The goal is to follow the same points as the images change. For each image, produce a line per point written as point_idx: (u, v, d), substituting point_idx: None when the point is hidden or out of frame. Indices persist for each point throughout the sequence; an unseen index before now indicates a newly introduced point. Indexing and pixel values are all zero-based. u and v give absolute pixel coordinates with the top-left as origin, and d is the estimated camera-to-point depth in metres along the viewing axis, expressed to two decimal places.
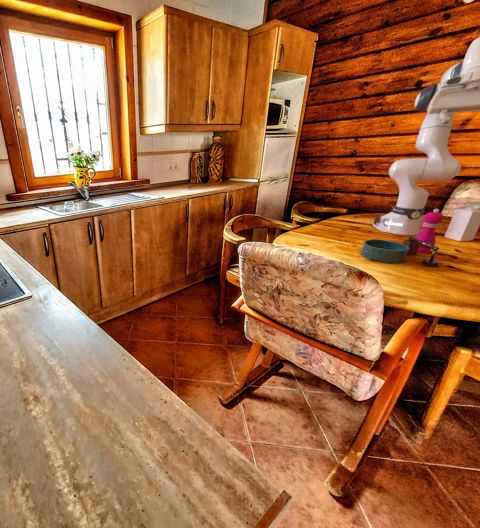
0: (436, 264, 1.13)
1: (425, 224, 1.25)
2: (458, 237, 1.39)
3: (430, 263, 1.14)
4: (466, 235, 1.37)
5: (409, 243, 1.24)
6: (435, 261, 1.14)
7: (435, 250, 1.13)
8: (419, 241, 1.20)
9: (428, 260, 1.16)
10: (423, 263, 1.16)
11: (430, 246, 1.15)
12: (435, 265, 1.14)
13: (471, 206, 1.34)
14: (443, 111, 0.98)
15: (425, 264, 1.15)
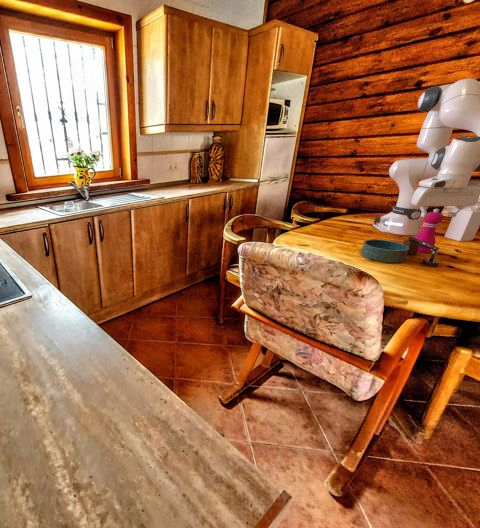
0: (436, 264, 1.13)
1: (425, 224, 1.25)
2: (458, 237, 1.39)
3: (430, 263, 1.14)
4: (466, 235, 1.37)
5: (409, 243, 1.24)
6: (435, 261, 1.14)
7: (435, 250, 1.13)
8: (419, 241, 1.20)
9: (428, 260, 1.16)
10: (423, 263, 1.16)
11: (430, 246, 1.15)
12: (435, 265, 1.14)
13: (471, 206, 1.34)
14: (425, 207, 1.12)
15: (425, 264, 1.15)
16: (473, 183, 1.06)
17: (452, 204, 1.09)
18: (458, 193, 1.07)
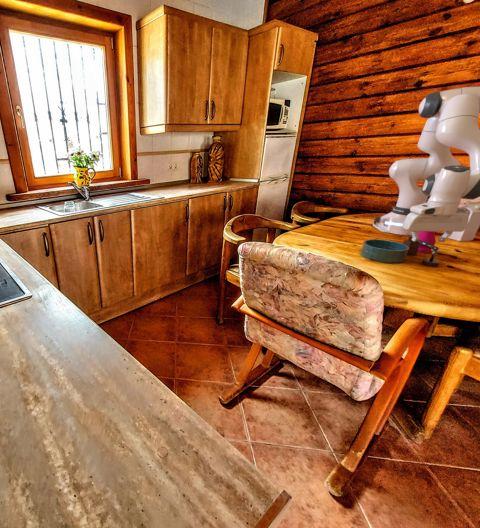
0: (436, 264, 1.13)
1: None
2: (458, 237, 1.39)
3: (430, 263, 1.14)
4: (466, 235, 1.37)
5: (409, 243, 1.24)
6: (435, 261, 1.14)
7: (435, 250, 1.13)
8: (419, 241, 1.20)
9: (428, 260, 1.16)
10: (423, 263, 1.16)
11: (430, 246, 1.15)
12: (435, 265, 1.14)
13: (471, 206, 1.34)
14: (416, 232, 1.16)
15: (425, 264, 1.15)
16: (462, 210, 1.10)
17: (442, 230, 1.13)
18: (447, 219, 1.11)
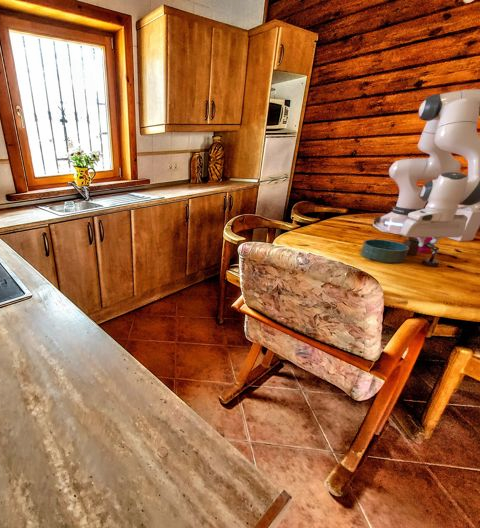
0: (436, 264, 1.13)
1: None
2: (458, 237, 1.39)
3: (430, 263, 1.14)
4: (466, 235, 1.37)
5: (409, 243, 1.24)
6: (435, 261, 1.14)
7: (435, 250, 1.13)
8: None
9: (428, 260, 1.16)
10: (423, 263, 1.16)
11: (430, 246, 1.15)
12: (435, 265, 1.14)
13: (471, 206, 1.34)
14: (423, 238, 1.16)
15: (425, 264, 1.15)
16: (459, 216, 1.11)
17: (439, 235, 1.14)
18: (445, 225, 1.12)
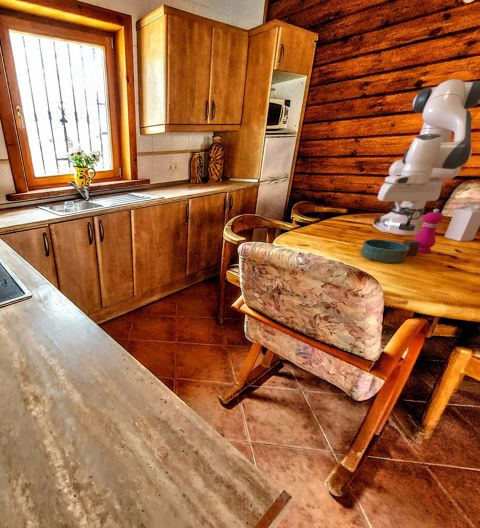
0: (412, 228, 1.13)
1: (425, 224, 1.25)
2: (458, 237, 1.39)
3: (406, 227, 1.14)
4: (466, 235, 1.37)
5: (409, 243, 1.24)
6: (411, 225, 1.14)
7: (411, 213, 1.13)
8: None
9: (405, 224, 1.15)
10: (400, 227, 1.16)
11: (407, 210, 1.15)
12: (411, 228, 1.13)
13: (471, 206, 1.34)
14: (399, 202, 1.16)
15: (402, 228, 1.15)
16: (434, 179, 1.11)
17: (415, 199, 1.14)
18: (420, 189, 1.12)
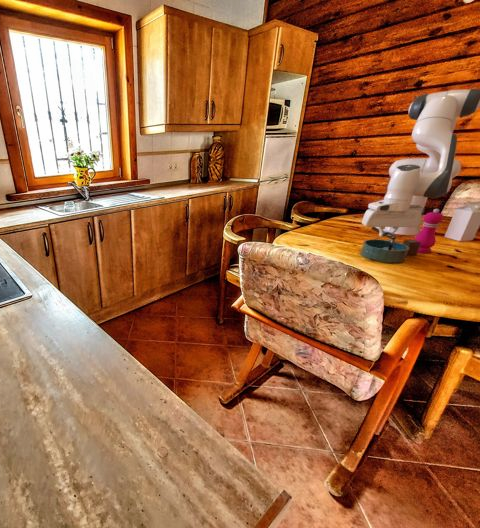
0: None
1: (425, 224, 1.25)
2: (458, 237, 1.39)
3: None
4: (466, 235, 1.37)
5: (409, 243, 1.24)
6: (393, 249, 1.20)
7: (393, 239, 1.19)
8: None
9: (387, 249, 1.21)
10: None
11: (389, 235, 1.21)
12: None
13: (471, 206, 1.34)
14: (382, 228, 1.22)
15: None
16: (415, 207, 1.17)
17: (397, 225, 1.20)
18: (402, 215, 1.18)
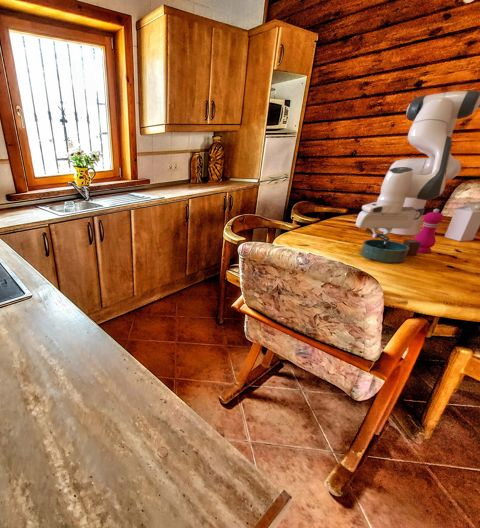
0: None
1: (425, 224, 1.25)
2: (458, 237, 1.39)
3: None
4: (466, 235, 1.37)
5: (409, 243, 1.24)
6: None
7: (386, 240, 1.20)
8: None
9: None
10: None
11: (382, 237, 1.22)
12: None
13: (471, 206, 1.34)
14: (375, 229, 1.23)
15: None
16: (407, 208, 1.18)
17: (390, 227, 1.21)
18: (395, 217, 1.20)
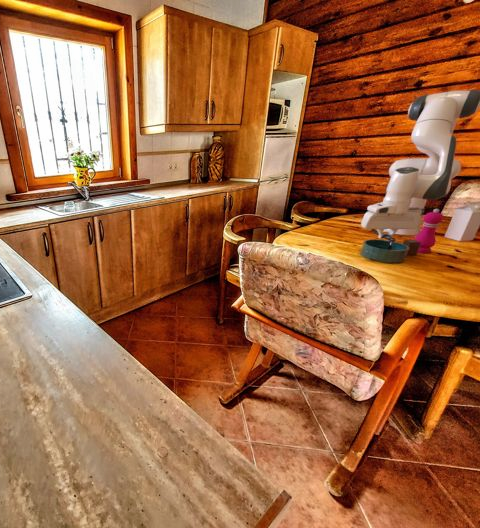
0: None
1: (425, 224, 1.25)
2: (458, 237, 1.39)
3: None
4: (466, 235, 1.37)
5: (409, 243, 1.24)
6: None
7: (392, 241, 1.19)
8: None
9: None
10: None
11: (388, 237, 1.21)
12: None
13: (471, 206, 1.34)
14: (381, 230, 1.22)
15: None
16: (414, 209, 1.17)
17: (396, 227, 1.20)
18: (401, 218, 1.19)
